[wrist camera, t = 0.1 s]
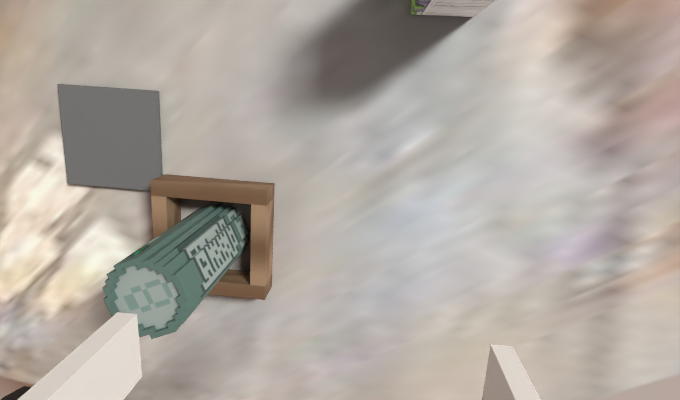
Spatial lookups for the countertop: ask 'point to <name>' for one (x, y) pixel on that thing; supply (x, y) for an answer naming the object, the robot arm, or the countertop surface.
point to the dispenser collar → (255, 193)
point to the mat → (111, 136)
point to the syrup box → (449, 7)
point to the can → (176, 269)
